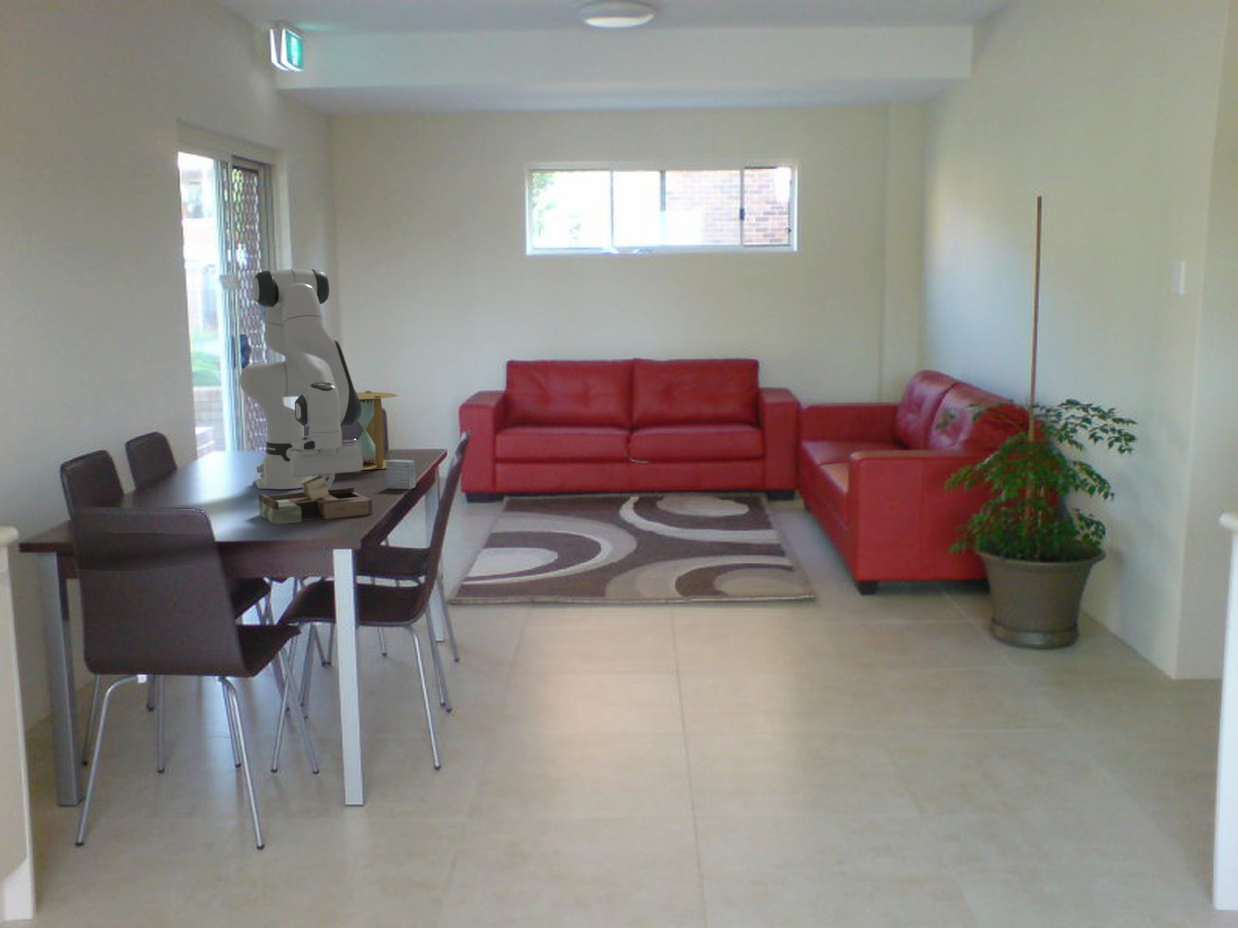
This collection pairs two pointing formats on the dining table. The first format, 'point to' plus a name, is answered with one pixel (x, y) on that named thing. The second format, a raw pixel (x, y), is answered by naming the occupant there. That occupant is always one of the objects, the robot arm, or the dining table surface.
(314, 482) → the maple block
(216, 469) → the dining table surface
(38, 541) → the dining table surface
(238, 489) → the dining table surface
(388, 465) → the medicine box
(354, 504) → the board
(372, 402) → the hourglass
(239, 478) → the dining table surface
